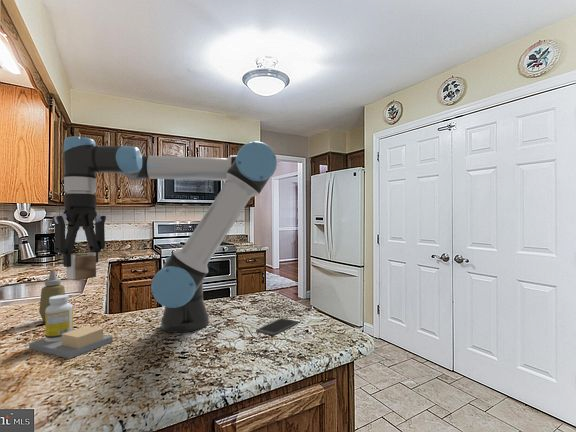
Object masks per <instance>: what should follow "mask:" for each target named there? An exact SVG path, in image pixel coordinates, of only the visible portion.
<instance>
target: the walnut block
mask: <svg viewBox="0 0 576 432" xmlns="http://www.w3.org/2000/svg"><path fill="white" fill-rule="evenodd" d="M75 276H76V279H69V280H70V281H71V280H72V281H81V280H87V279H93V278H96V277H97V263H96V256H90V255H87V254H85V255H84V254H83V255H75Z"/></svg>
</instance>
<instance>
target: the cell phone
mask: <svg viewBox="0 0 576 432" xmlns="http://www.w3.org/2000/svg"><path fill="white" fill-rule="evenodd" d="M298 324H299V321H297V320H293V319H289V318H284V317H283V318H281V317H280V318H279V319H277V320H274V321H273V322H271V323H268V324H266V325H264V326H262V327H260V328H259V327H258V328H257V329H256V333H259V334H264V335H268V336H271V337H272V336H273V337H274V336H277V335H279V334H281V333H283V332H284V331H287V330H288V329H290V328H292V327H294V326H296V325H298Z"/></svg>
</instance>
